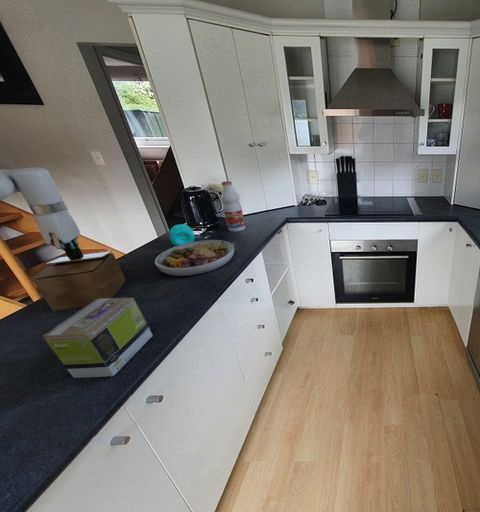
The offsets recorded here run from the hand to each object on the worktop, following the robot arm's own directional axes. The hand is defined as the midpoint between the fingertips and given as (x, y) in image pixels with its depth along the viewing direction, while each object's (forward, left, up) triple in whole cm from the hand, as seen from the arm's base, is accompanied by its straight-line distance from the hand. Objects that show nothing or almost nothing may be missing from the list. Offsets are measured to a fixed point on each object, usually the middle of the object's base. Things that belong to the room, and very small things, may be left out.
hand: (76, 258), depth 96 cm
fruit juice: (+46, +54, -15) cm, 73 cm away
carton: (0, -2, -14) cm, 14 cm away
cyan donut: (+22, +39, -15) cm, 47 cm away
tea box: (+20, -42, -15) cm, 48 cm away
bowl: (+32, +14, -15) cm, 38 cm away
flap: (0, +2, -1) cm, 3 cm away
